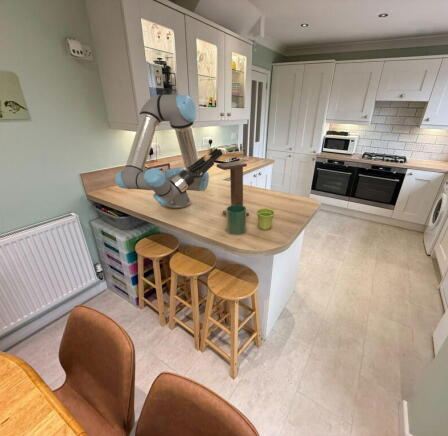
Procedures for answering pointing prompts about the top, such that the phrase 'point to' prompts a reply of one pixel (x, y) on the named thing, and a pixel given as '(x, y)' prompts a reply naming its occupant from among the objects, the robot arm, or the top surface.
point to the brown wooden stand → (235, 181)
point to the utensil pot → (236, 219)
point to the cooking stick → (226, 155)
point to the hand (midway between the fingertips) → (219, 151)
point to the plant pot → (265, 218)
